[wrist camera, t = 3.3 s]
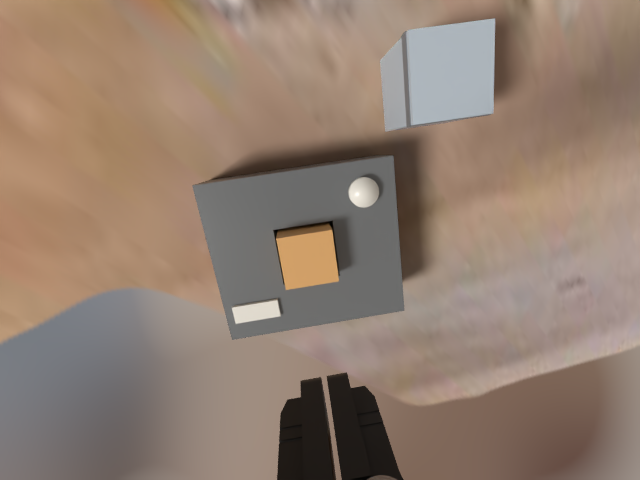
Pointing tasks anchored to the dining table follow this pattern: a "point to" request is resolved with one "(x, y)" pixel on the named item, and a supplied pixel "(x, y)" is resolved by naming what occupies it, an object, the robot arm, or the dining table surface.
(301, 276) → the breaker button
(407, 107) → the cap
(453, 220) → the dining table surface
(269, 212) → the box
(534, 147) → the dining table surface
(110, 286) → the dining table surface
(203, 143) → the dining table surface
